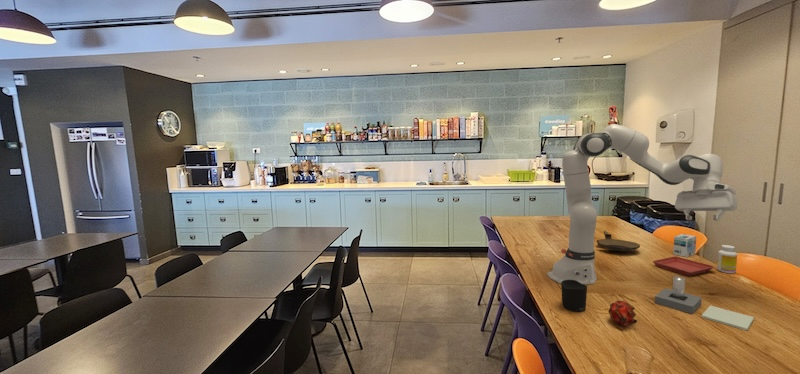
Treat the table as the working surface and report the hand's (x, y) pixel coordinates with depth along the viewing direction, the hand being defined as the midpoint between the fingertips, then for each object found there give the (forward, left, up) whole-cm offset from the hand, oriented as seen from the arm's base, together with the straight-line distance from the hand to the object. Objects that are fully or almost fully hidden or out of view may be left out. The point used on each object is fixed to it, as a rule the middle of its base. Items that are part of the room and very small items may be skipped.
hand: (702, 219), depth 139 cm
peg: (-16, -7, -33) cm, 37 cm away
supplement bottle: (+36, +18, -33) cm, 52 cm away
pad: (-9, -20, -33) cm, 39 cm away
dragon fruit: (-48, -16, -33) cm, 60 cm away
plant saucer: (+19, +25, -33) cm, 46 cm away
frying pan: (+12, +61, -33) cm, 71 cm away
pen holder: (-58, -2, -33) cm, 67 cm away
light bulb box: (+40, +44, -33) cm, 68 cm away
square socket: (-16, -7, -33) cm, 37 cm away
